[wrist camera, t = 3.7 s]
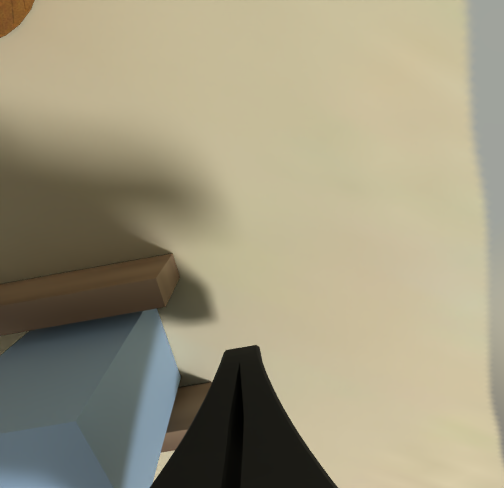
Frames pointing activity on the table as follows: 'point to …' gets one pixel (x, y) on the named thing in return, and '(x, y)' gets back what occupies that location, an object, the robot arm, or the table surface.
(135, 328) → the block
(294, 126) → the table surface
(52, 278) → the guide rail
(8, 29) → the disposable coffee cup
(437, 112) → the table surface
